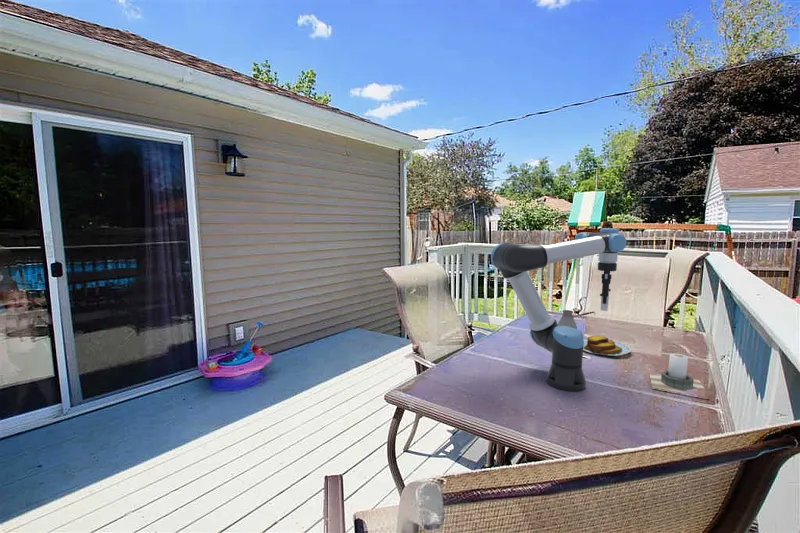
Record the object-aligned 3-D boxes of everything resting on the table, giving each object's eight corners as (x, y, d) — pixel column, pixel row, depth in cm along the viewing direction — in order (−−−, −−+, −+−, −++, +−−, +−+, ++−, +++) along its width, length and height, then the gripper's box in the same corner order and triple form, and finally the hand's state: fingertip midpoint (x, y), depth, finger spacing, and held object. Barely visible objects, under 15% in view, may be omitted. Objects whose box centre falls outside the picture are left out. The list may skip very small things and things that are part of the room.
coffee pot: (554, 331, 229) (555, 308, 228) (560, 327, 238) (561, 305, 236) (591, 338, 216) (593, 313, 214) (596, 333, 224) (597, 310, 223)
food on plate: (633, 362, 178) (634, 349, 178) (577, 354, 189) (578, 342, 188) (627, 346, 201) (628, 335, 200) (577, 340, 212) (578, 329, 211)
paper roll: (686, 388, 147) (689, 359, 146) (668, 384, 151) (670, 356, 149) (684, 382, 153) (686, 354, 151) (666, 379, 156) (669, 352, 154)
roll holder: (708, 400, 139) (709, 389, 139) (651, 389, 149) (652, 378, 148) (699, 382, 155) (700, 372, 154) (648, 373, 164) (649, 364, 163)
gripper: (599, 259, 179) (596, 301, 181) (596, 264, 157) (593, 312, 160) (617, 260, 175) (614, 303, 177) (616, 265, 154) (613, 314, 156)
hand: (604, 307), depth 169 cm, fingers open, 13 cm apart
